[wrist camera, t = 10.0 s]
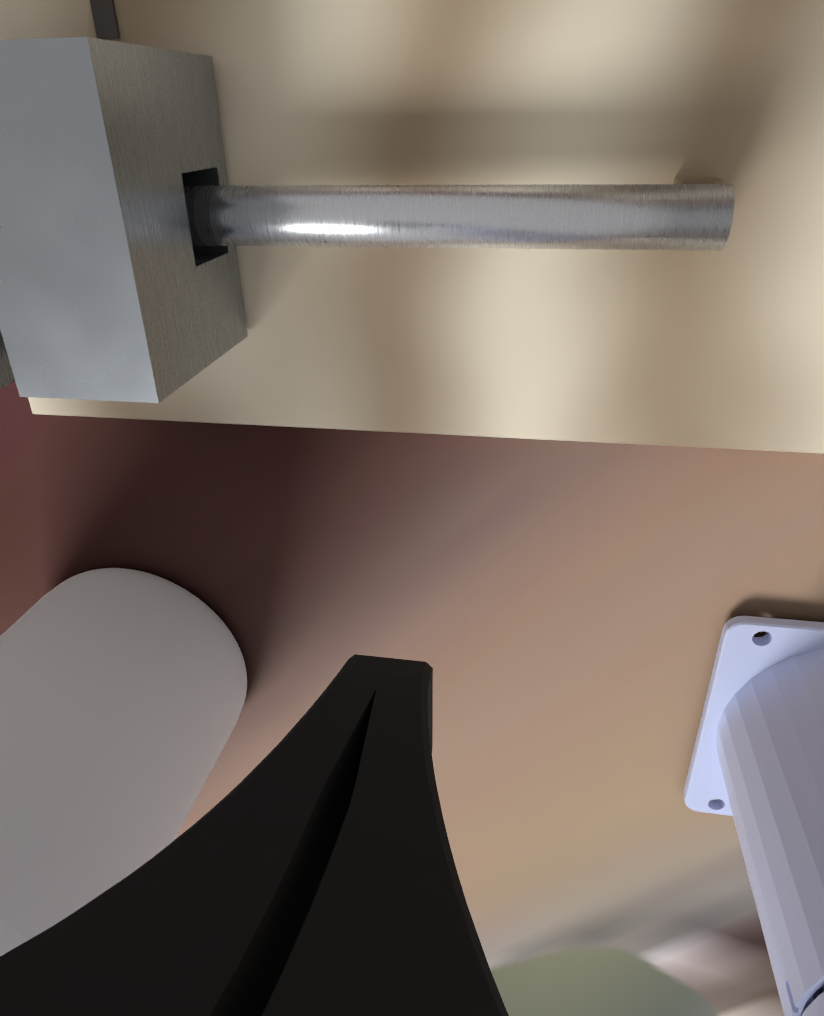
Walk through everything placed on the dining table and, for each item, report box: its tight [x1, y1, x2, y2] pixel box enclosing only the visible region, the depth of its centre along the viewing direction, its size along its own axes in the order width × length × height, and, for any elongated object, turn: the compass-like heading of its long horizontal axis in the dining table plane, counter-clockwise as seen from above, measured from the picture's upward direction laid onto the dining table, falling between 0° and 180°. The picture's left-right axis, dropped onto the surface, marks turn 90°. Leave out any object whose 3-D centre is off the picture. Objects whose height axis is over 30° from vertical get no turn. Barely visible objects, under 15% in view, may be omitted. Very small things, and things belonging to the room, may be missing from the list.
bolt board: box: [0, 0, 824, 453], centre depth 15 cm, size 23×11×6 cm, turn 91°
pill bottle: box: [0, 568, 247, 956], centre depth 19 cm, size 8×8×15 cm
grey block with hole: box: [0, 37, 248, 403], centre depth 15 cm, size 3×6×5 cm, turn 1°
